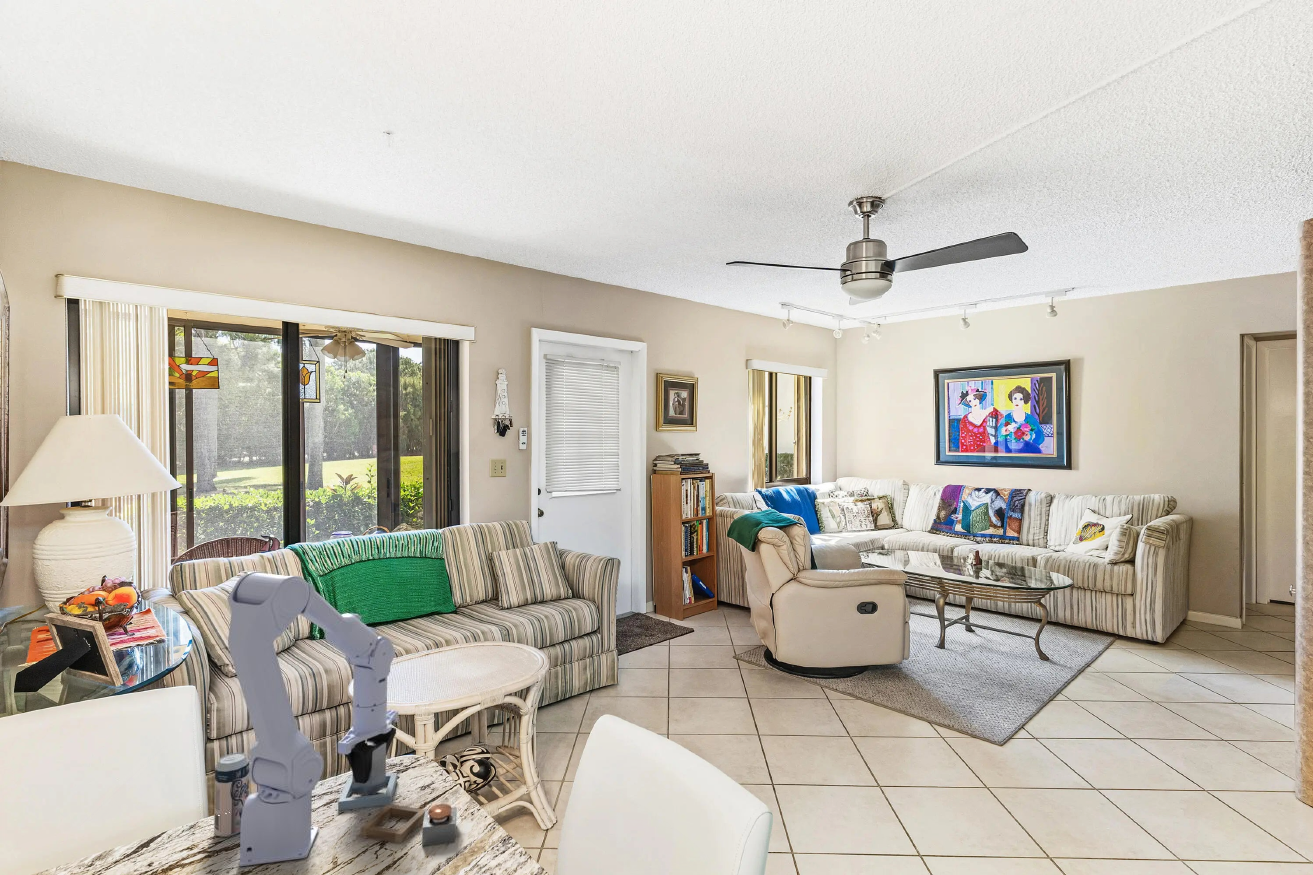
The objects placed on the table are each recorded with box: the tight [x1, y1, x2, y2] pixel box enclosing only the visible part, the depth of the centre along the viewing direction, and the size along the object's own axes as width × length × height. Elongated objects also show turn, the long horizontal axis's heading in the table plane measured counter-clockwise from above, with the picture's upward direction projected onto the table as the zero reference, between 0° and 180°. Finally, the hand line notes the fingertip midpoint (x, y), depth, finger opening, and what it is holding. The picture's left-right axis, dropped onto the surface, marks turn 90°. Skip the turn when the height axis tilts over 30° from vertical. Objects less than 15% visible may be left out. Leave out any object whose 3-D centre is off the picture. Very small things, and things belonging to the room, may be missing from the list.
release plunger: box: [428, 803, 452, 823], centre depth 110 cm, size 4×4×4 cm
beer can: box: [213, 752, 250, 838], centre depth 110 cm, size 5×5×12 cm
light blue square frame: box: [337, 772, 398, 811], centre depth 122 cm, size 9×9×2 cm
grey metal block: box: [351, 739, 387, 796], centre depth 122 cm, size 4×4×8 cm
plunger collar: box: [421, 806, 457, 847], centre depth 110 cm, size 5×5×3 cm
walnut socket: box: [360, 804, 428, 844], centre depth 112 cm, size 7×7×2 cm
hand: (369, 776), depth 122 cm, fingers closed on grey metal block, 4 cm apart
